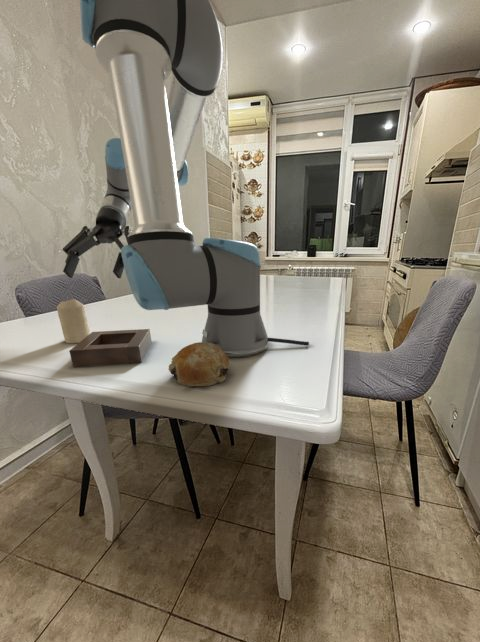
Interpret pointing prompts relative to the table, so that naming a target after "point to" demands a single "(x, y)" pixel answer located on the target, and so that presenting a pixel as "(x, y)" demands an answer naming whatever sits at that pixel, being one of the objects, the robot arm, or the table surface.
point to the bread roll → (199, 365)
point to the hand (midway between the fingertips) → (92, 275)
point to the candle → (73, 321)
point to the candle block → (111, 348)
